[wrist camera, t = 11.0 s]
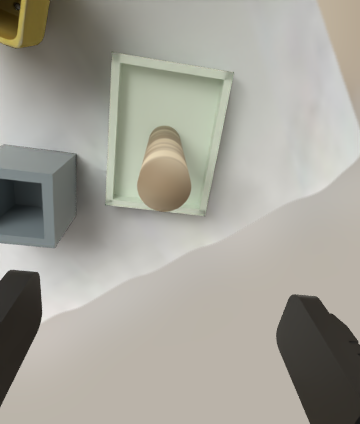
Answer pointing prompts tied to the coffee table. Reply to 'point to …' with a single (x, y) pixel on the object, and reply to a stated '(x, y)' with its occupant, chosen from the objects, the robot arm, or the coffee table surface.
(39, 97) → the coffee table surface
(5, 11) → the flower pot
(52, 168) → the grey square box
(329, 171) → the coffee table surface
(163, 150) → the dowel
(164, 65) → the tray
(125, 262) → the coffee table surface
